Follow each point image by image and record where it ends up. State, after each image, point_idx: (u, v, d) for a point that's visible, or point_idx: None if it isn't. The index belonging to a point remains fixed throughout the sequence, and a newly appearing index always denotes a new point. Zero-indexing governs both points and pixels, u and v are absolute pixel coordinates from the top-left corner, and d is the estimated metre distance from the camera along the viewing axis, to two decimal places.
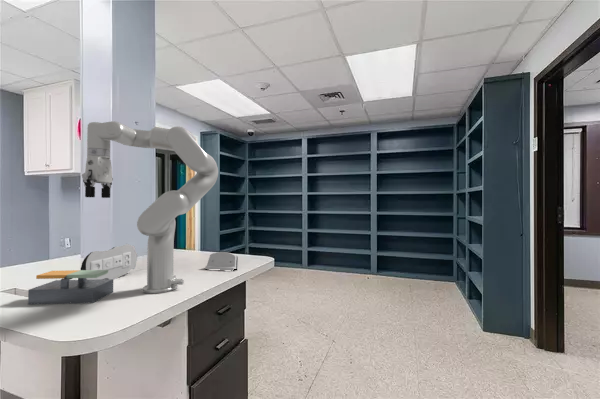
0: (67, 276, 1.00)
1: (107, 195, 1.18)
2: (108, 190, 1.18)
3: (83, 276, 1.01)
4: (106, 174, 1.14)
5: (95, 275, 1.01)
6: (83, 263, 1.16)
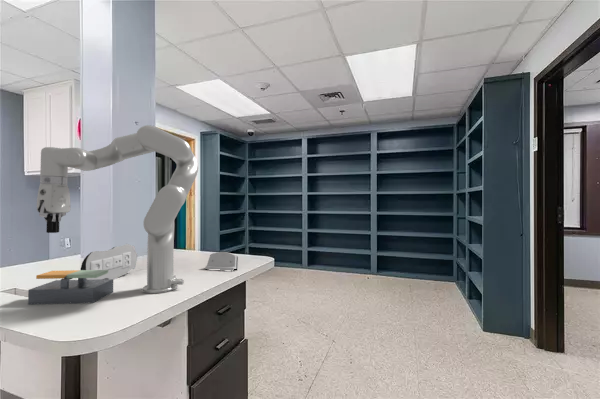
0: (67, 276, 1.00)
1: None
2: (57, 224, 1.04)
3: (83, 276, 1.01)
4: (62, 203, 1.04)
5: (95, 275, 1.01)
6: (83, 263, 1.16)
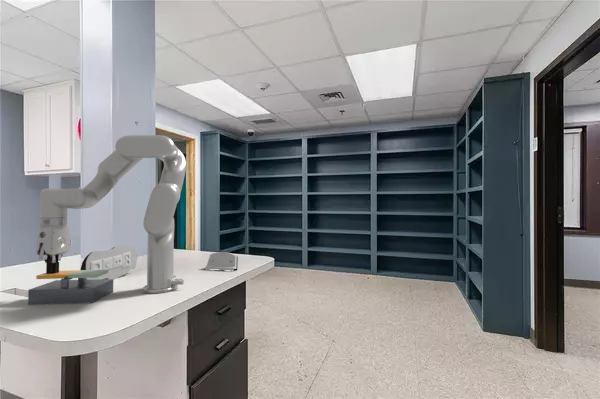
0: (67, 276, 1.00)
1: None
2: None
3: (83, 276, 1.01)
4: (62, 244, 1.04)
5: (95, 275, 1.01)
6: (83, 263, 1.16)
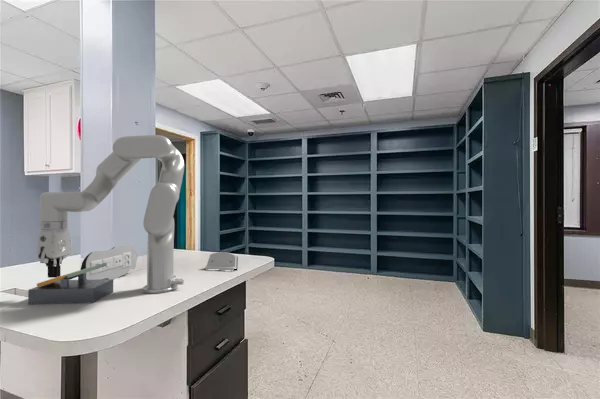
0: (66, 276, 1.00)
1: None
2: (58, 268, 1.04)
3: (82, 271, 1.01)
4: (63, 247, 1.04)
5: (93, 267, 1.01)
6: (83, 263, 1.16)
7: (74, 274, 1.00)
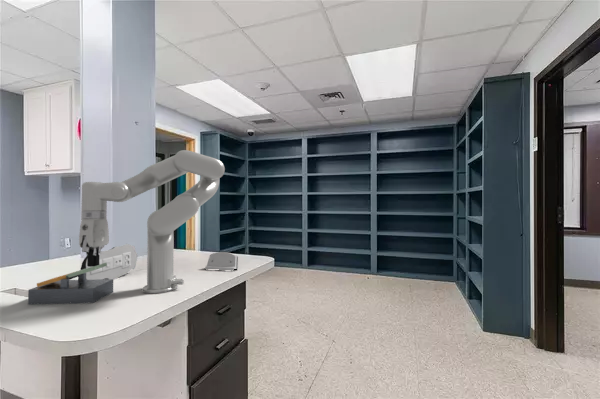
0: (66, 276, 1.00)
1: None
2: None
3: (82, 272, 1.01)
4: (102, 237, 1.05)
5: (93, 267, 1.01)
6: (83, 263, 1.16)
7: (74, 274, 1.00)
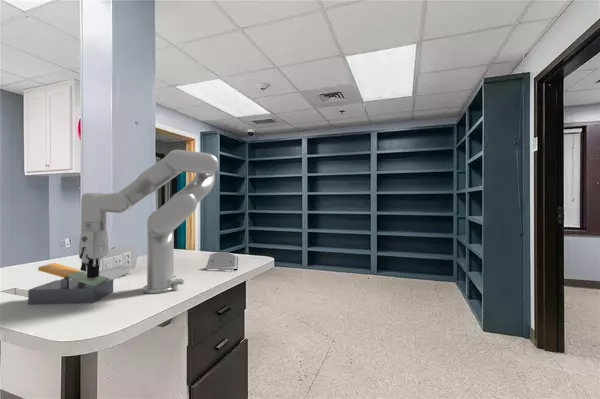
0: (68, 276, 1.00)
1: None
2: None
3: (83, 281, 1.01)
4: (102, 248, 1.05)
5: (94, 283, 1.01)
6: (83, 263, 1.16)
7: (75, 279, 1.00)
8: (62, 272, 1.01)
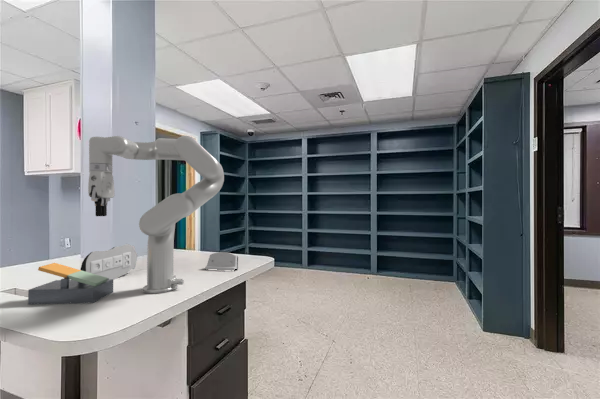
0: (68, 276, 1.00)
1: None
2: None
3: (83, 281, 1.01)
4: (109, 189, 1.12)
5: (94, 283, 1.01)
6: (83, 263, 1.16)
7: (75, 279, 1.00)
8: (62, 272, 1.01)
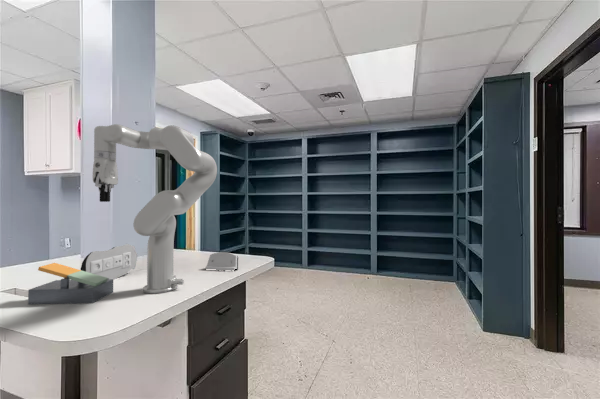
0: (68, 276, 1.00)
1: None
2: None
3: (83, 281, 1.01)
4: (112, 176, 1.18)
5: (94, 283, 1.01)
6: (83, 263, 1.16)
7: (75, 279, 1.00)
8: (62, 272, 1.01)
